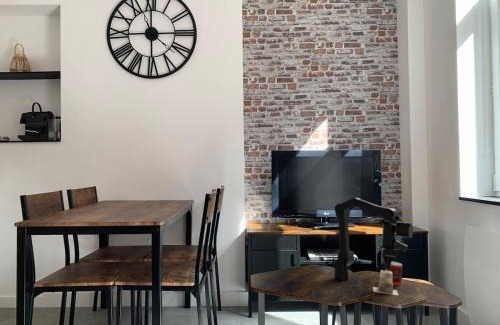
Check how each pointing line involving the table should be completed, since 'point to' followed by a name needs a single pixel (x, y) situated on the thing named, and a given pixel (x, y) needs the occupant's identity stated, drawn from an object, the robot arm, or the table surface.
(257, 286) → the table surface
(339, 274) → the robot arm
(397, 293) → the build mat
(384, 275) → the oak cube
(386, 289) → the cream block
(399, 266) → the canned food
